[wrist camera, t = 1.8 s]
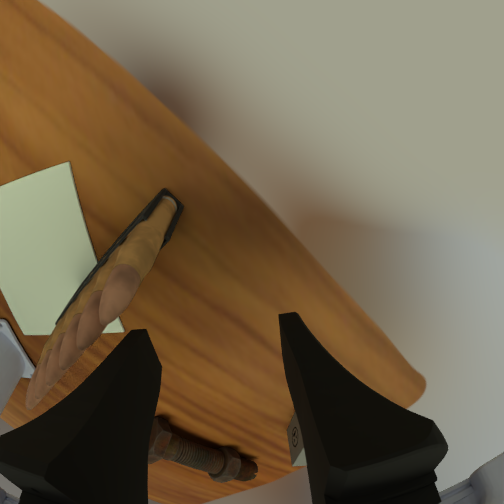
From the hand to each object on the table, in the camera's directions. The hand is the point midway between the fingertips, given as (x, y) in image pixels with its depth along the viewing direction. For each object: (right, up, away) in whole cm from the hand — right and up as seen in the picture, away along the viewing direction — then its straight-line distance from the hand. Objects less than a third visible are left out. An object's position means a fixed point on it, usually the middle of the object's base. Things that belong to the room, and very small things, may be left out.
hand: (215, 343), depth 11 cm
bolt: (-5, -20, +21) cm, 29 cm away
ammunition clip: (-8, +4, +10) cm, 13 cm away
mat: (-16, +2, +9) cm, 19 cm away
